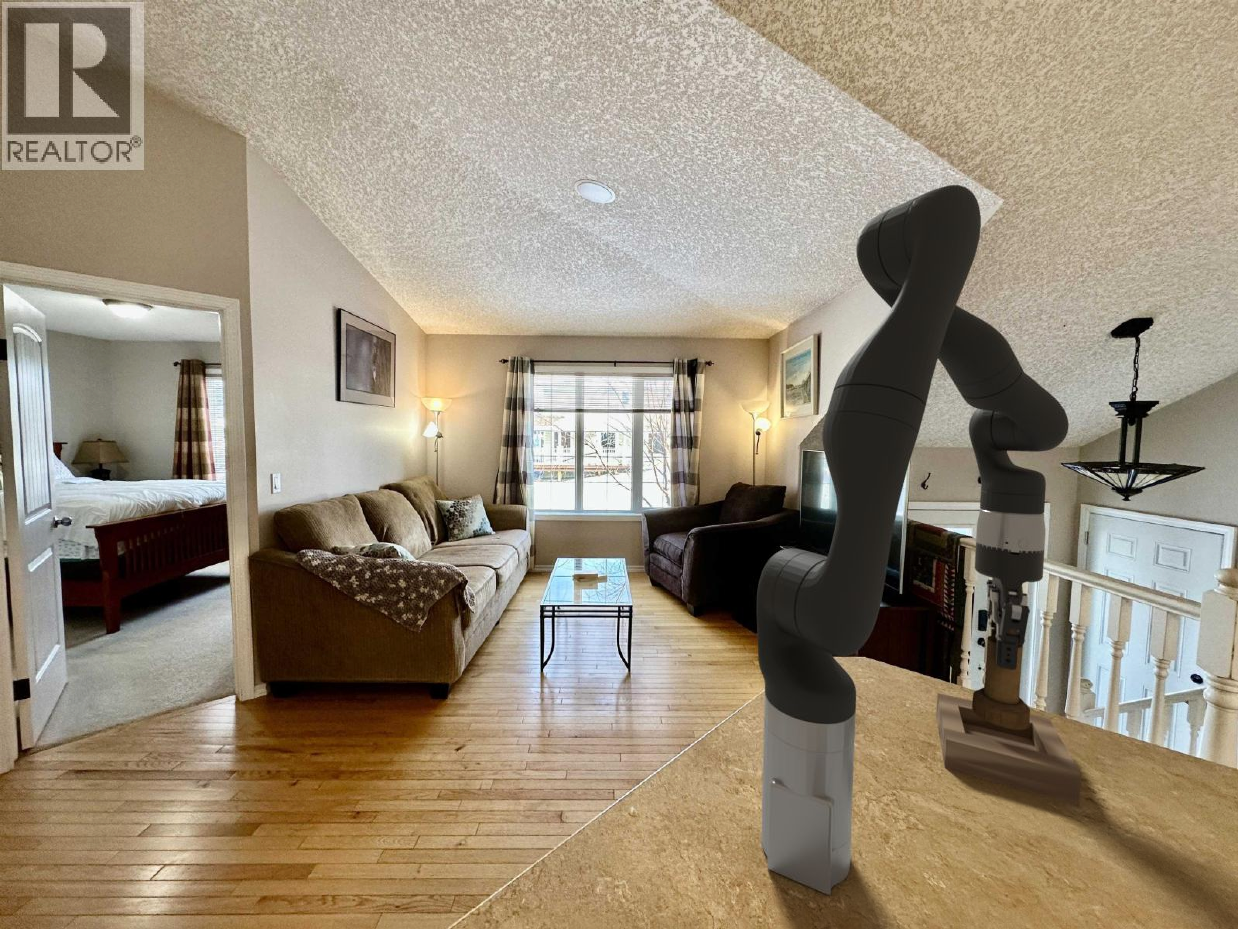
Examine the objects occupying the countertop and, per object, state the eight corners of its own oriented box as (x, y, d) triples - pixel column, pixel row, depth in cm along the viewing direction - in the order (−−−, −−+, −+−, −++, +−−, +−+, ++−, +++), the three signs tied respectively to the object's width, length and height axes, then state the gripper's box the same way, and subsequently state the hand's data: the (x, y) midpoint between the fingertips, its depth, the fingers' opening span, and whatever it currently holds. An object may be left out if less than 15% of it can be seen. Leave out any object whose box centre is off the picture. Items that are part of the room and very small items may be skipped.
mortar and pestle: (1041, 733, 65) (1049, 603, 64) (987, 727, 67) (994, 599, 66) (1011, 706, 72) (1018, 588, 71) (963, 701, 73) (969, 585, 72)
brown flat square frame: (1079, 809, 60) (1081, 774, 60) (944, 770, 67) (946, 739, 67) (1047, 746, 72) (1048, 717, 72) (936, 719, 79) (937, 693, 79)
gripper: (969, 531, 76) (963, 638, 77) (984, 549, 64) (978, 676, 64) (1030, 536, 72) (1024, 648, 73) (1059, 556, 60) (1051, 690, 61)
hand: (1002, 660), depth 69 cm, fingers closed on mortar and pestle, 4 cm apart
